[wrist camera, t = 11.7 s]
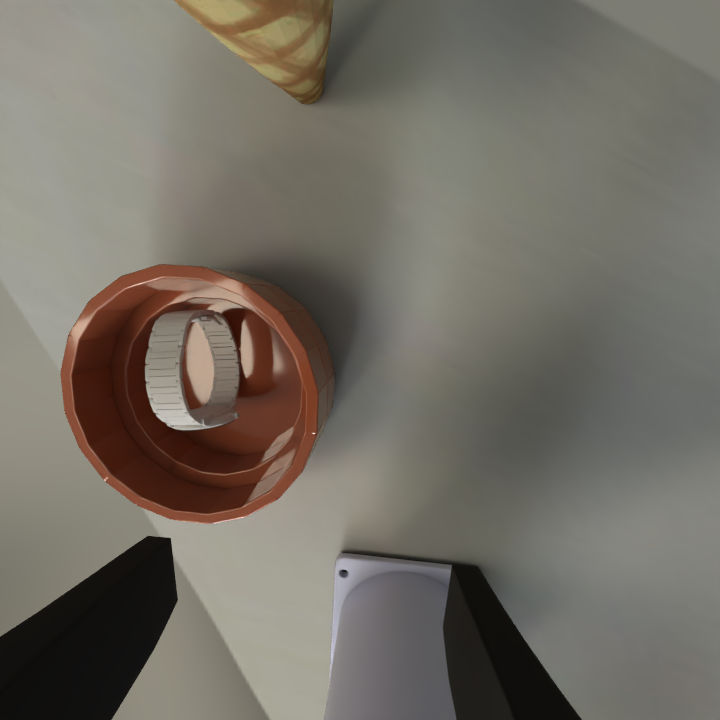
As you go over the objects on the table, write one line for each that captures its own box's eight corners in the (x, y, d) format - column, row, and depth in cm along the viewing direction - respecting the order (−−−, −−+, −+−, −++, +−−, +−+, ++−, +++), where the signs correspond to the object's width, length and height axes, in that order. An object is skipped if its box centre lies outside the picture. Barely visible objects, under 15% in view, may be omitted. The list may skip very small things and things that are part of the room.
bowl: (331, 479, 19) (313, 536, 14) (146, 461, 19) (74, 509, 15) (340, 279, 17) (323, 272, 12) (134, 268, 17) (47, 258, 13)
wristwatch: (207, 406, 18) (139, 447, 13) (194, 310, 17) (115, 315, 12) (261, 404, 18) (211, 446, 13) (250, 306, 17) (192, 310, 12)
